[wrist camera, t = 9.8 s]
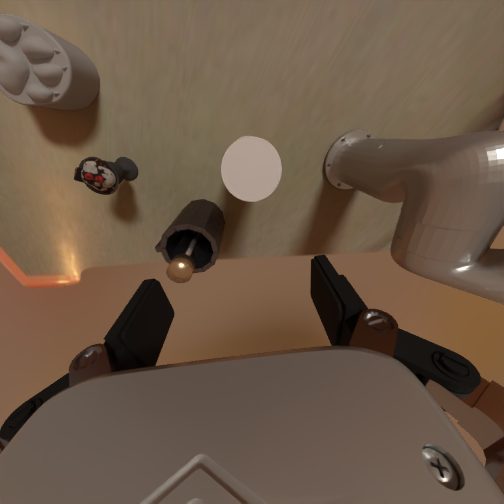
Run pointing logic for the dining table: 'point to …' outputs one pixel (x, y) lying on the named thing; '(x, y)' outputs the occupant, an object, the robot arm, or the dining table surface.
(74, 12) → the dining table surface
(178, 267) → the plunger
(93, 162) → the sundae
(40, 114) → the dining table surface
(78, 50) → the lumpy-topped squat cylinder
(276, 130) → the dining table surface
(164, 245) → the press carafe
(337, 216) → the dining table surface
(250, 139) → the cylindrical container
